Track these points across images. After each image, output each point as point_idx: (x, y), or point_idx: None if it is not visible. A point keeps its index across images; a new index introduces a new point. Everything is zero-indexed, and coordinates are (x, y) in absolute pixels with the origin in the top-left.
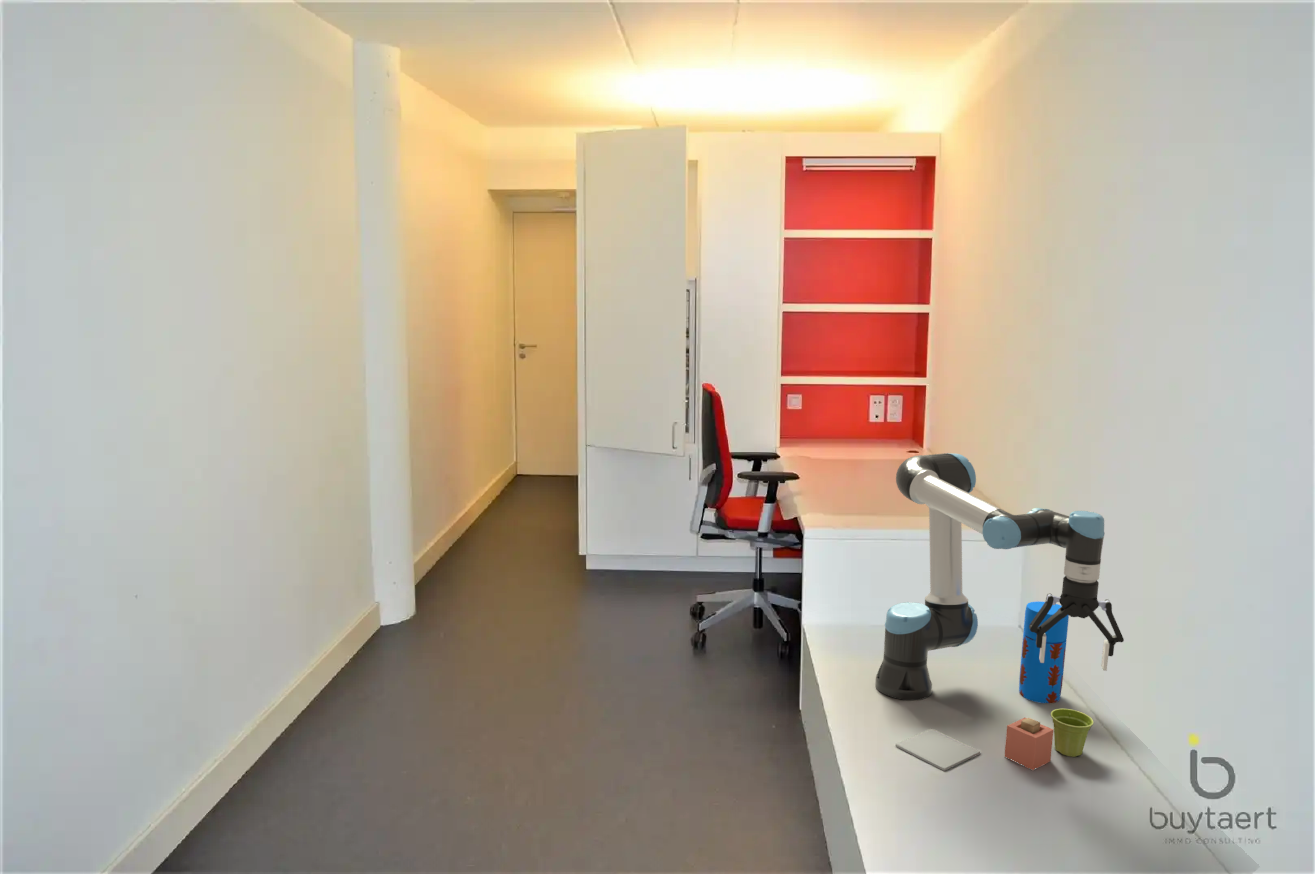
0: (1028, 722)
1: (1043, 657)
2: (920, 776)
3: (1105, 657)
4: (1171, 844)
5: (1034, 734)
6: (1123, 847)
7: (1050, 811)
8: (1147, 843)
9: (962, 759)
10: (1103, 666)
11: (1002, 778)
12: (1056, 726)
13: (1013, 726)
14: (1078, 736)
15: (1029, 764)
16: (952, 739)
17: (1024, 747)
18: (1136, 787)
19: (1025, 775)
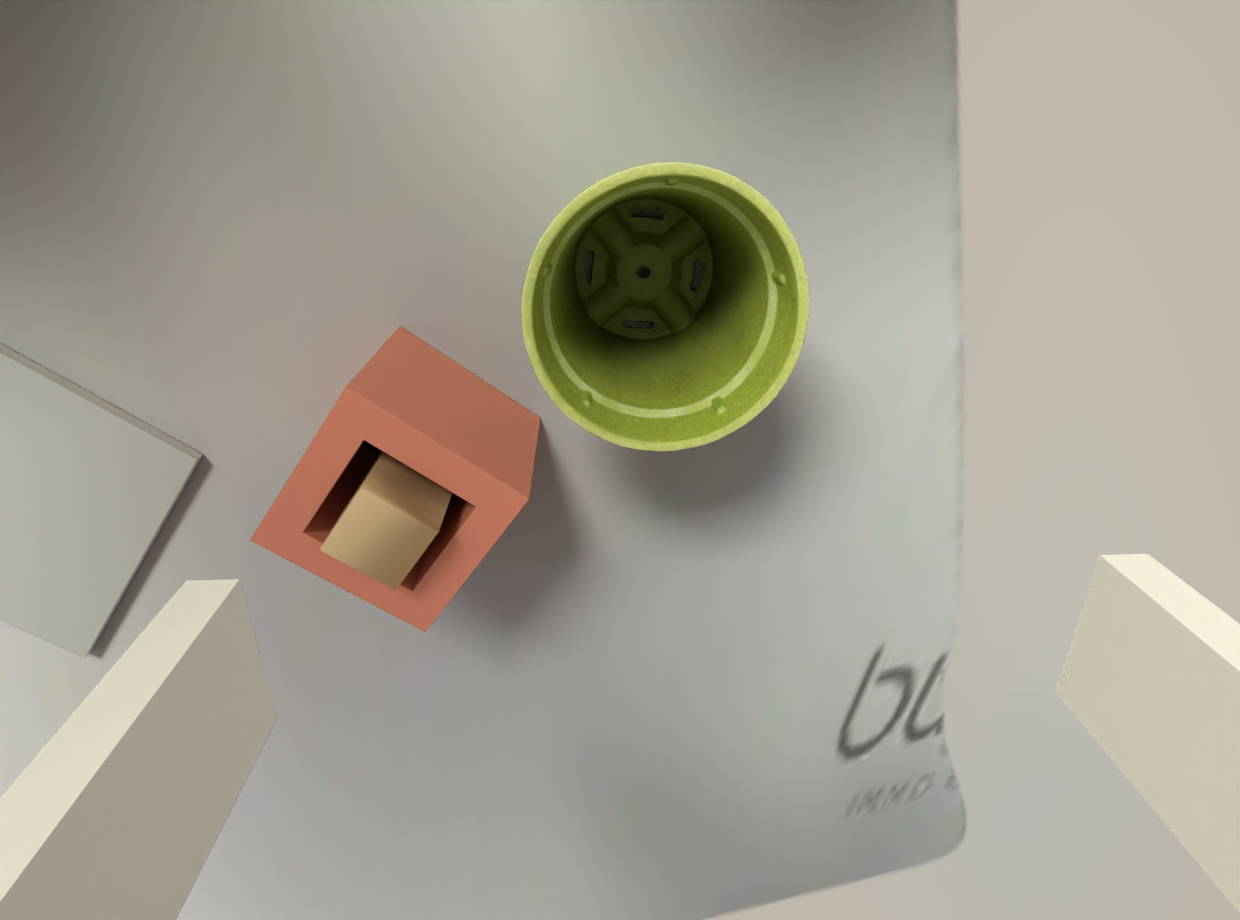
0: (365, 557)
1: (228, 789)
2: (18, 713)
3: (1216, 869)
4: (861, 817)
5: (416, 593)
6: (711, 867)
7: (514, 773)
8: (789, 832)
9: (135, 562)
10: (1089, 731)
11: (333, 630)
12: (562, 358)
13: (289, 538)
14: (687, 393)
15: None
16: (24, 379)
17: None
18: (879, 527)
19: None
